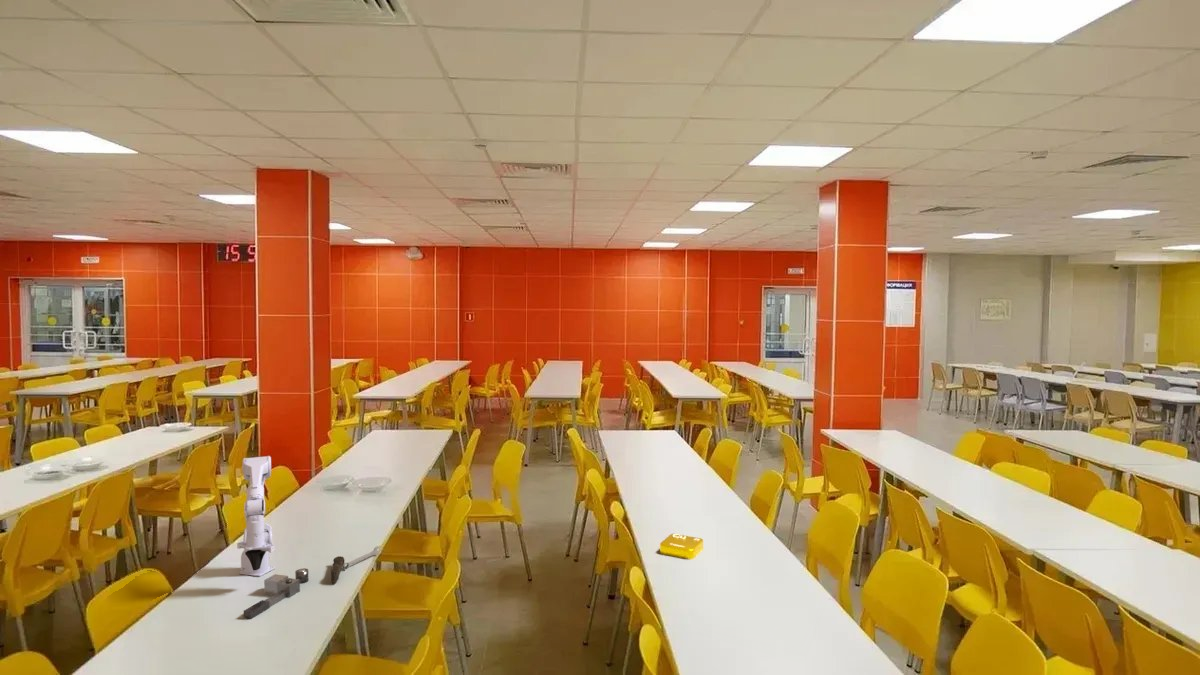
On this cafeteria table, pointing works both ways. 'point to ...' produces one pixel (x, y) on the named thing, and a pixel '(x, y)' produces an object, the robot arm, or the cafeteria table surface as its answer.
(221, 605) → the cafeteria table surface
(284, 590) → the ratchet
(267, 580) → the grey block
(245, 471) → the robot arm
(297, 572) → the socket
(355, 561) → the combination wrench
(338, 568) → the rough brown wooden log
